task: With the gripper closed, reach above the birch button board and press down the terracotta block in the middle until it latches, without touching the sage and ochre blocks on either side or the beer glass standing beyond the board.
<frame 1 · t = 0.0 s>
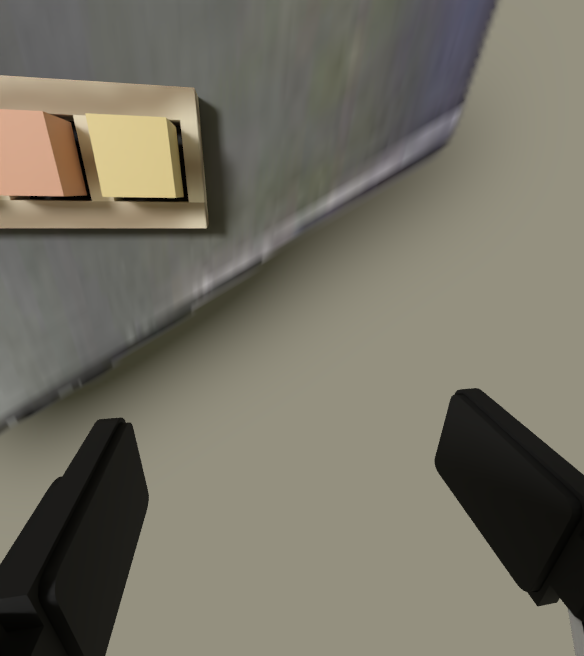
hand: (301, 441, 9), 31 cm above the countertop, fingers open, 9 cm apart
ochre button: (140, 160, 28), point 5 cm above the countertop, slide at 0.0 cm
terracotta button: (29, 157, 27), point 5 cm above the countertop, slide at 0.0 cm
button board: (57, 161, 31), on the countertop
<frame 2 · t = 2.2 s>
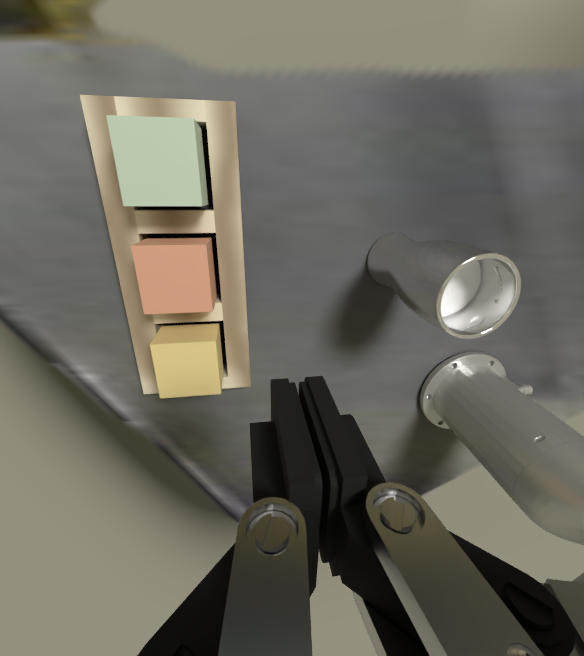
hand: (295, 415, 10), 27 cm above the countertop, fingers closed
beer glass: (391, 259, 37), on the countertop
ochre button: (190, 359, 33), point 5 cm above the countertop, slide at 0.0 cm
terracotta button: (179, 274, 29), point 5 cm above the countertop, slide at 0.0 cm
sage button: (164, 166, 26), point 5 cm above the countertop, slide at 0.0 cm
button board: (187, 264, 34), on the countertop
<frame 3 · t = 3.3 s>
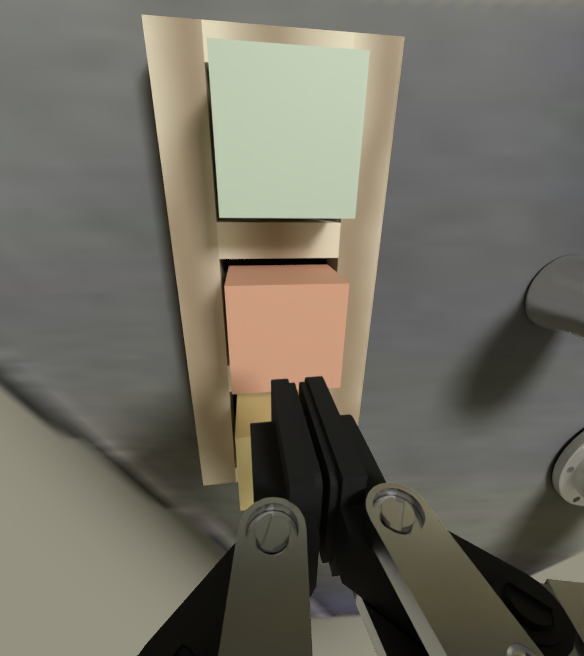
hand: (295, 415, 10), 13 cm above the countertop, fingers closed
beer glass: (557, 291, 26), on the countertop
ochre button: (282, 445, 22), point 5 cm above the countertop, slide at 0.0 cm
terracotta button: (283, 325, 18), point 5 cm above the countertop, slide at 0.0 cm
sage button: (283, 146, 15), point 5 cm above the countertop, slide at 0.0 cm
button board: (276, 299, 23), on the countertop
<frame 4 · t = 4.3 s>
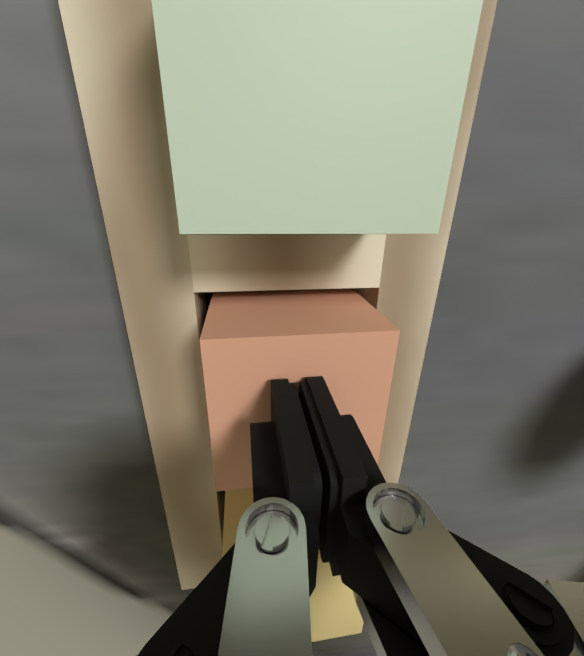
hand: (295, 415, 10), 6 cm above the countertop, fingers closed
ochre button: (291, 551, 15), point 5 cm above the countertop, slide at 0.0 cm
terracotta button: (291, 380, 13), point 4 cm above the countertop, slide at -1.0 cm, touching gripper
sage button: (303, 100, 8), point 5 cm above the countertop, slide at 0.0 cm
button board: (281, 339, 16), on the countertop
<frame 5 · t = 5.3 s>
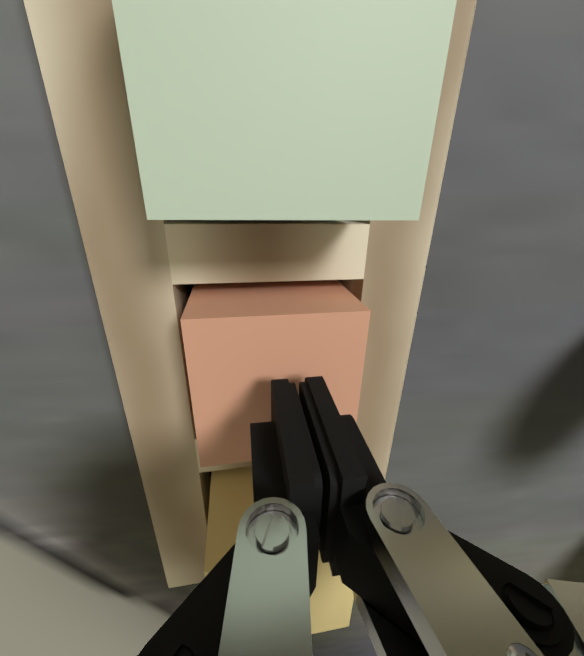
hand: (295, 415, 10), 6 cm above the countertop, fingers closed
ochre button: (278, 546, 15), point 5 cm above the countertop, slide at 0.0 cm
terracotta button: (272, 362, 13), point 3 cm above the countertop, slide at -1.9 cm
sage button: (279, 81, 8), point 5 cm above the countertop, slide at 0.0 cm
button board: (266, 333, 16), on the countertop
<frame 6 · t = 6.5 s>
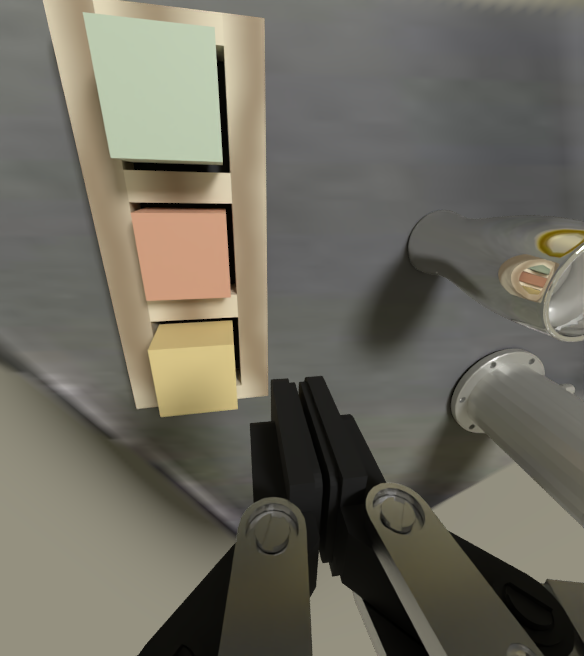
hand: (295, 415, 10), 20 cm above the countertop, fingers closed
beer glass: (434, 242, 31), on the countertop
ochre button: (198, 366, 26), point 5 cm above the countertop, slide at 0.0 cm
terracotta button: (188, 252, 24), point 3 cm above the countertop, slide at -1.9 cm
sage button: (167, 104, 19), point 5 cm above the countertop, slide at 0.0 cm
button board: (191, 245, 27), on the countertop
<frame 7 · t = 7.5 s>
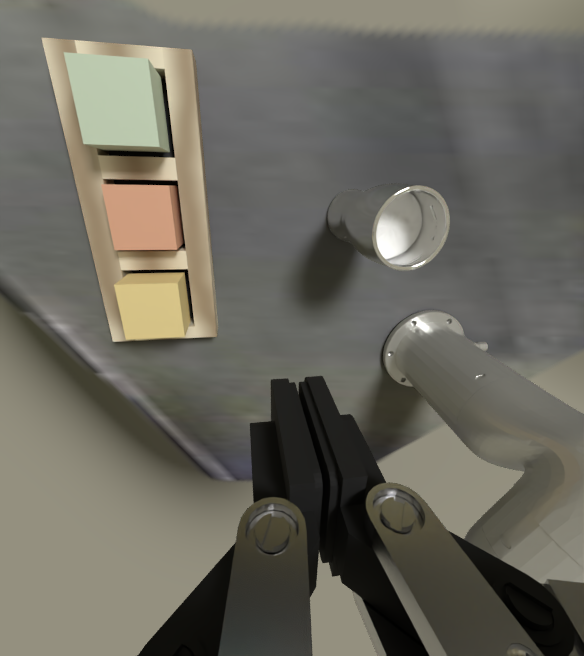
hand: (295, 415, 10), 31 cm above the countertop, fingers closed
beer glass: (350, 215, 39), on the countertop
ochre button: (156, 304, 35), point 5 cm above the countertop, slide at 0.0 cm
terracotta button: (147, 216, 33), point 3 cm above the countertop, slide at -1.9 cm
sage button: (123, 109, 27), point 5 cm above the countertop, slide at 0.0 cm
button board: (153, 214, 35), on the countertop
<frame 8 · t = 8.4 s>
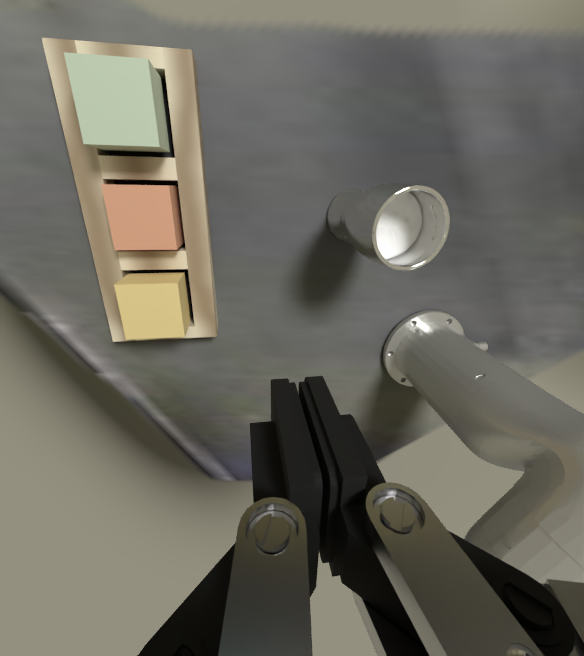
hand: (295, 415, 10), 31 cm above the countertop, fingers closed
beer glass: (350, 215, 39), on the countertop
ochre button: (156, 304, 35), point 5 cm above the countertop, slide at 0.0 cm
terracotta button: (147, 216, 33), point 3 cm above the countertop, slide at -1.9 cm
sage button: (123, 109, 27), point 5 cm above the countertop, slide at 0.0 cm
button board: (153, 214, 35), on the countertop
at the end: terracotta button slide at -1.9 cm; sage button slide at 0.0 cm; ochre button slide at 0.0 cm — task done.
